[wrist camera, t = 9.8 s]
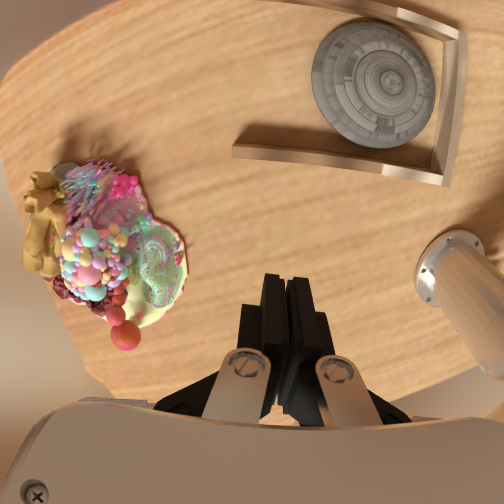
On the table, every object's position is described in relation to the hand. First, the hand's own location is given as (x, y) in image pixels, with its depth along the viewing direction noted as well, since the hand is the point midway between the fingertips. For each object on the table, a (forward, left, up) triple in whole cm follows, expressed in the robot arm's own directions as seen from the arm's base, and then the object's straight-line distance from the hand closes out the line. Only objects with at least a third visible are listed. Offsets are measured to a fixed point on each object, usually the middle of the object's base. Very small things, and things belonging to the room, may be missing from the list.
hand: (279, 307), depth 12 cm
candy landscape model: (+21, +11, -26) cm, 35 cm away
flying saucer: (-11, -12, -26) cm, 30 cm away
